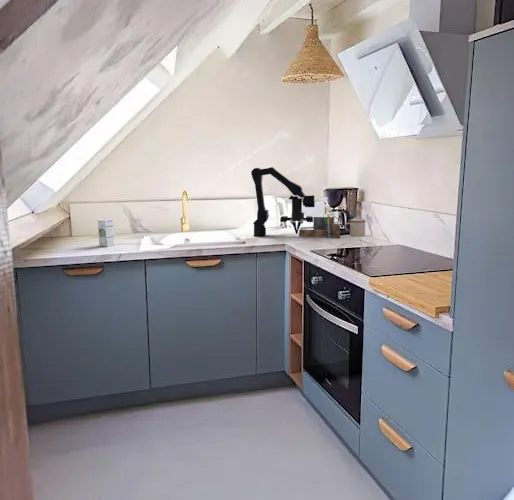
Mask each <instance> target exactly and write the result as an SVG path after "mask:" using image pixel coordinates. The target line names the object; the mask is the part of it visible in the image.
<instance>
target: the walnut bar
mask: <svg viewBox="0 0 514 500" xmlns="http://www.w3.org/2000/svg"><path fill="white" fill-rule="evenodd" d="M298 237H300V238H301V237H302V238H304V237H305V238H306V237H307V238H328V237H327V230H313V229H300V228H299V230H298Z"/></svg>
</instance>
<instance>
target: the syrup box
mask: <svg viewBox="0 0 514 500" xmlns="http://www.w3.org/2000/svg"><path fill="white" fill-rule="evenodd" d="M97 226H98V228H97V229H98V241H99V242H98V243H99V247H103V246H104V248H105V247H106V248H109V246H110V247H112V246H113V245H114V246H115V233H114V232H115V231H114V219H113V218H105V217H102V218H98V219H97ZM114 246H113V247H114Z"/></svg>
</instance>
